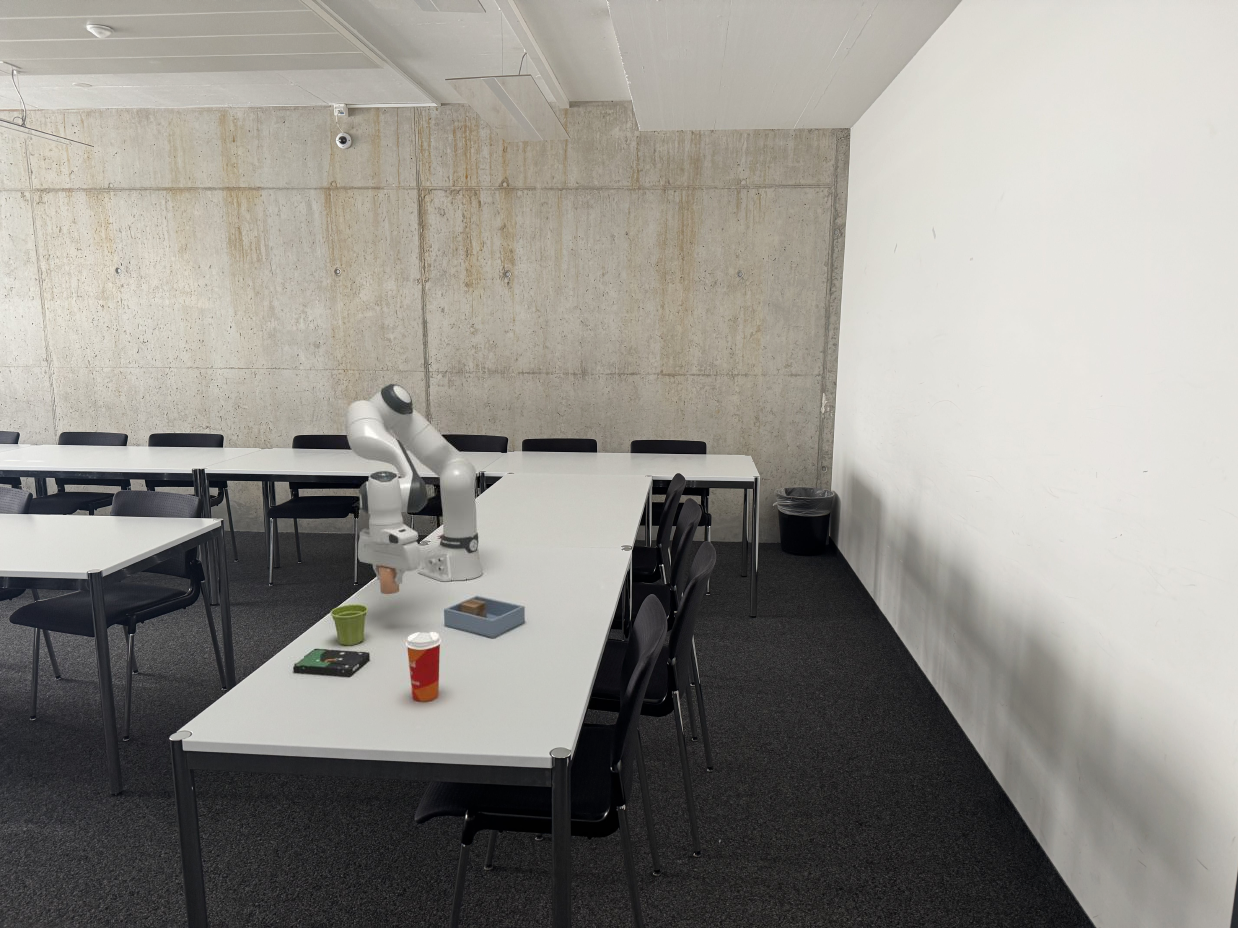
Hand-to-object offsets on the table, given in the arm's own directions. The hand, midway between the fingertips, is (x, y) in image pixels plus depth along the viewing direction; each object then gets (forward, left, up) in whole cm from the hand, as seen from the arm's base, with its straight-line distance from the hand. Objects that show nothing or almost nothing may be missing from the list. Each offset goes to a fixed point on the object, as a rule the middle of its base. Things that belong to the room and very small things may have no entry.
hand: (389, 581), depth 212 cm
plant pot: (-3, -11, -14) cm, 18 cm away
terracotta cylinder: (0, 0, -3) cm, 3 cm away
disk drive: (+6, -25, -15) cm, 29 cm away
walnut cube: (+15, +17, -13) cm, 26 cm away
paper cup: (+37, -24, -14) cm, 47 cm away
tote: (+19, +17, -14) cm, 29 cm away
